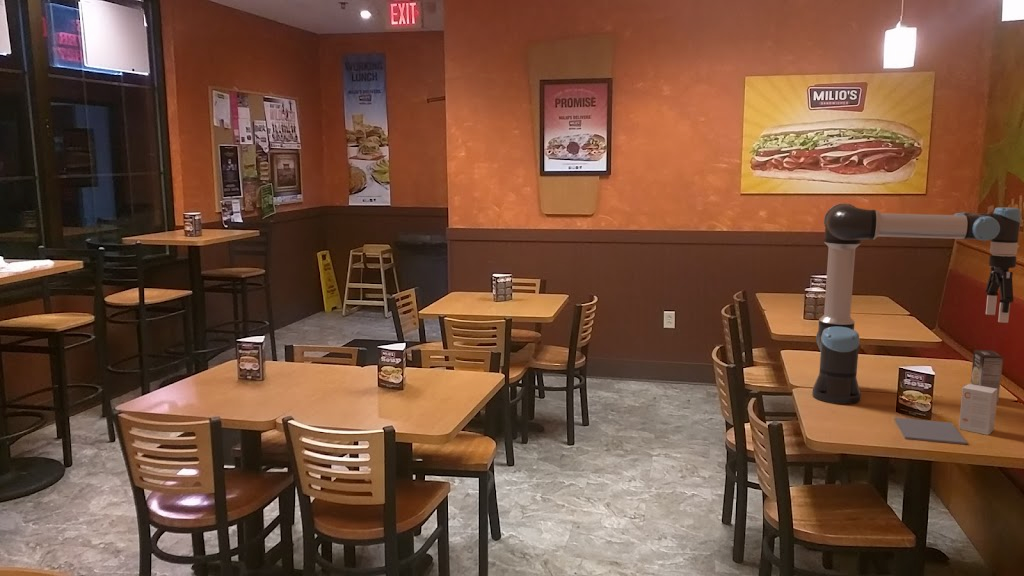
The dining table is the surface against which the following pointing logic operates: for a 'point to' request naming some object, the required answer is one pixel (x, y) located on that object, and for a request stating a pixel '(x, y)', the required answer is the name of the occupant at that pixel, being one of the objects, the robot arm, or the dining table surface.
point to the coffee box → (987, 369)
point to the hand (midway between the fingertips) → (996, 318)
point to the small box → (978, 409)
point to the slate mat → (929, 431)
